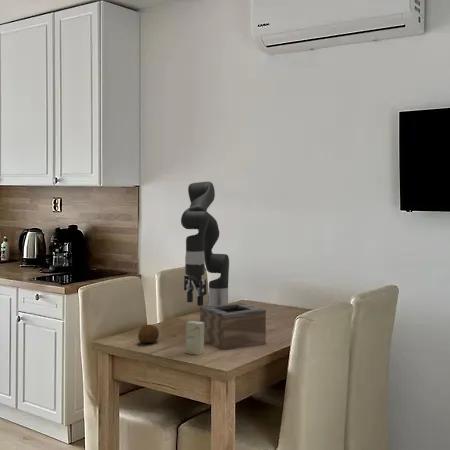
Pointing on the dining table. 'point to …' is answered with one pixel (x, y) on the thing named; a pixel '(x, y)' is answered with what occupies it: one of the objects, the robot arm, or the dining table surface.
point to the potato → (148, 334)
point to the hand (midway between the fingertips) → (195, 304)
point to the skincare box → (195, 337)
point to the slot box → (233, 325)
